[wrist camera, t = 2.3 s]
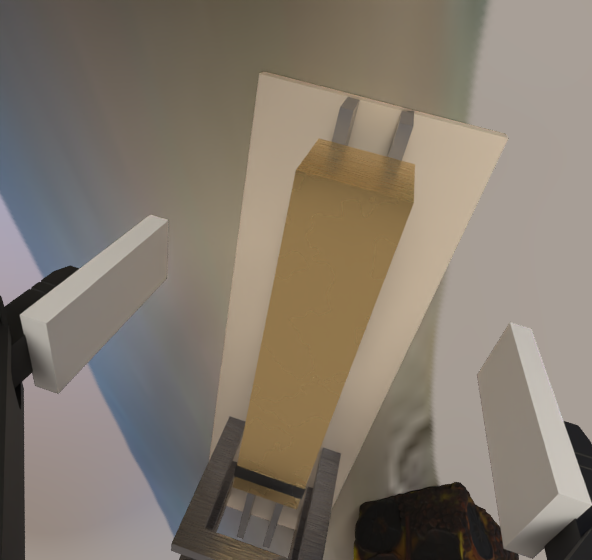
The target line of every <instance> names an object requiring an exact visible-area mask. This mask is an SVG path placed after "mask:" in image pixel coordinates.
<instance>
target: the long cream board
mask: <svg viewBox="0 0 592 560" xmlns="http://www.w3.org/2000/svg"><path fill="white" fill-rule="evenodd" d="M319 138H320V139H323V140H327V141H331V142H334V143H338V144H342V145H346V146H349V147H353V148H357V149H360V150H364V151H368V152H371V153H375V154H379V155H383V156H386V157H390V158H394V159H397V160H401V161H405V162H408V163H412V164H415V182H414V204H413V207H412V209H411V212H410V214H409V217H408V220H407V222H406V225H405V227H404V230H403V233H402V235H401V238H400V241H399V243H398V246H397V248H396V251H395V254H394V256H393V259H392V262H391V264H390V267H389V269H388V272H387V275H386V277H385V280H384V282H383V285H382V288H381V290H380V293H379V296H378V298H377V301H376V303H375V306H374V309H373V311H372V314H371V317H370V319H369V322H368V324H367V327H366V330H365V332H364V335H363V337H362V340H361V343H360V345H359V348H358V351H357V353H356V356H355V358H354V361H353V364H352V366H351V369H350V372H349V374H348V377H347V379H346V382H345V385H344V387H343V390H342V392H341V395H340V398H339V400H338V403H337V406H336V408H335V411H334V413H333V416H332V419H331V421H330V424H329V427H328V429H327V432H326V434H325V437H324V440H323V442H322V445H321V447H320V450H319V453H318V455H317V458H316V461H315V463H314V466H313V468H312V471H311V474H310V476H309V479H308V482H307V485H306V489H305V492H304V495H303V497H302V500H300V502H299V505H298V508H297V510H296V509H293V508H291V507H288V506H285V505H282V504H279V503H276V502H273V501H270V500H268V499H265V498H262V497H259V496H256V495H253V494H250V493H248V492H245V491H242V490H239V489H236V488H233V485H232V490H231V495H230V498H229V500H228V503H227V506H228V507H231V508H234V509H237V510H240V511H243V514H242V518H241V522H240V526H239V531H238V535H237V537H239V538H242V539H243V537H244V534H245V531H246V528H247V525H248V522H249V519H250V516H251V515H254V516H257V517H260V518H262V519H265V520H268V521H270V523H269V526H268V530H267V533H266V537H265V540H264V544H263V546H264V547H267V548H269V546H270V543H271V540H272V537H273V534H274V532H275V529H276V526H277V524H279V525H282V526H285V527H288V528H291V529H294V530H295V526H296V522H297V518H298V515H299V513H300V510H301V508H302V506H303V502H304V497H305V493H306V490H307V488H308V487H311V488H313V486H314V481H315V477H316V472H317V468H318V463H319V459H320V454H321V452H322V449H323V448H326V449H329V450H332V451H335V452H338V453H341V457H340V462H339V468H338V474H337V480H336V485H335V491H334V497H333V503H332V508H333V506H334V504H335V502H336V500H337V498H338V495H339V493H340V491H341V489H342V487H343V485H344V483H345V481H346V479H347V477H348V474H349V472H350V470H351V468H352V466H353V464H354V462H355V460H356V458H357V456H358V453H359V451H360V449H361V447H362V445H363V443H364V441H365V439H366V437H367V435H368V432H369V430H370V428H371V426H372V424H373V422H374V420H375V418H376V416H377V414H378V411H379V409H380V407H381V405H382V403H383V401H384V399H385V397H386V395H387V393H388V390H389V388H390V386H391V384H392V382H393V380H394V378H395V376H396V374H397V372H398V369H399V367H400V365H401V363H402V361H403V359H404V357H405V355H406V353H407V351H408V348H409V346H410V344H411V342H412V340H413V338H414V336H415V334H416V332H417V330H418V327H419V325H420V323H421V321H422V319H423V317H424V315H425V313H426V311H427V309H428V307H429V304H430V302H431V300H432V298H433V296H434V294H435V292H436V290H437V288H438V286H439V283H440V281H441V279H442V277H443V275H444V273H445V271H446V269H447V267H448V265H449V262H450V260H451V258H452V256H453V254H454V252H455V250H456V248H457V246H458V243H459V241H460V239H461V237H462V235H463V233H464V231H465V229H466V227H467V225H468V222H469V220H470V218H471V216H472V214H473V212H474V210H475V208H476V206H477V204H478V202H479V199H480V197H481V195H482V193H483V191H484V189H485V187H486V185H487V183H488V180H489V178H490V176H491V174H492V172H493V170H494V168H495V166H496V164H497V162H498V159H499V157H500V155H501V153H502V151H503V149H504V147H505V145H506V143H507V141H508V137H507V135H506V134H504V133H500V132H497V131H493V130H489V129H485V128H481V127H477V126H473V125H470V124H466V123H462V122H458V121H454V120H450V119H446V118H443V117H439V116H435V115H431V114H427V113H423V112H419V111H416V110H412V109H408V108H404V107H400V106H396V105H392V104H388V103H385V102H381V101H377V100H373V99H369V98H365V97H361V96H358V95H354V94H350V93H346V92H342V91H338V90H334V89H331V88H327V87H323V86H319V85H315V84H311V83H307V82H304V81H300V80H296V79H292V78H288V77H284V76H280V75H277V74H273V73H269V72H265V71H264V72H262V73H259V79H258V87H257V94H256V102H255V110H254V117H253V125H252V133H251V140H250V148H249V156H248V164H247V171H246V179H245V187H244V194H243V202H242V210H241V217H240V225H239V233H238V241H237V248H236V256H235V264H234V271H233V279H232V287H231V294H230V302H229V310H228V318H227V325H226V333H225V341H224V348H223V356H222V364H221V371H220V379H219V387H218V395H217V402H216V410H215V418H214V425H213V433H212V441H211V448H210V456H209V460H210V458H211V456H212V454H213V452H214V449H215V447H216V445H217V443H218V441H219V438H220V436H221V434H222V432H223V430H224V427H225V425H226V423H227V421H228V419H229V416H231V417H234V418H237V419H240V420H242V421H245V422H246V417H247V412H248V407H249V402H250V397H251V392H252V387H253V382H254V377H255V372H256V367H257V362H258V357H259V352H260V347H261V342H262V337H263V332H264V327H265V322H266V317H267V312H268V307H269V302H270V297H271V292H272V287H273V282H274V277H275V272H276V267H277V262H278V257H279V252H280V247H281V242H282V237H283V232H284V227H285V222H286V217H287V212H288V207H289V202H290V196H291V191H292V186H293V181H294V176H295V171H296V169H297V168H298V166H299V165H300V164H301V162H302V161H303V159H304V158H305V157H306V155H307V154H308V153H309V151H310V150H311V148H312V147H313V146H314V144H315V143H316V141H317V140H318V139H319ZM242 437H243V436H242ZM241 442H242V439H241V441H240V444H239V446H238V449H237V451H236V454H235V456H234V459H233V461H235V462H238V457H239V452H240V447H241ZM234 478H235V476H234ZM233 483H234V479H233ZM332 508H331V510H332Z"/></svg>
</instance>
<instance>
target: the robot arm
mask: <svg viewBox="0 0 592 560" xmlns="http://www.w3.org/2000/svg"><path fill="white" fill-rule="evenodd" d="M168 229H169V220H167V219H164V218H160V217H157V216H154V215H149V216H148V217H146V218H145V219H144V220H143V221H141V222H140V223H139V224H137V225H136V226H135V227H133V228H132V229H131V230H129V231H128V232H127V233H126V234H124V235H123V236H122V237H120V238H119V239H118V240H116V241H115V242H114V243H113V244H111V245H110V246H109V247H107V248H106V249H105V250H103V251H102V252H101V253H99V254H98V255H97V256H96V257H94V258H93V259H92V260H90V261H89V262H88V263H86V264H85V265H84V266H83V267H81V268H80V269H79V268H76V267H73V266H67V267H64V268H62V269H59V270H56V271H54V272H52V273H51V274H49V275H48V276H47V277H45V278H44V279H42V280H41V282H38V283H37V284H35V285H34V286H33V287H32V288H31V290H30V289H29V290H27V291H26V292H24V293H23V294H22V295H20V296H19V297H17V298H16V299H15V300H13V301H12V302H10V303H9V304H8V305H6V306H5V307H4V304H3V301H2V298H1V296H0V560H25V515H24V514H25V512H24V508H25V507H24V388H23V384H22V381H23V380H24V379H25V378H26V377H28V376H29V375H30V374H31V373H32V374H33V379H34V383H35V386H37V387H40V388H43V389H46V390H49V391H51V392H54V393H57V394H59V393H60V392H61V391H62V390H63V389H64V387H65V386H66V385H67V384H68V383H69V382H70V381H71V380H72V379H73V378H74V377H75V376H76V375H77V374H78V372H79V371H80V370H81V369H82V368H83V367H84V366H85V365H86V364H87V363H88V362H89V361H90V360H91V359H92V358H93V356H94V355H95V354H96V353H97V352H98V351H99V350H100V349H101V348H102V347H103V346H104V345H105V344H106V343H107V342H108V340H109V339H110V338H111V337H112V336H113V335H114V334H115V333H116V332H117V331H118V330H119V329H120V328H121V327H122V326H123V324H124V323H125V322H126V321H127V320H128V319H129V318H130V317H131V316H132V315H133V314H134V313H135V312H136V311H137V310H138V308H139V307H140V306H141V305H142V304H143V303H144V302H145V301H146V300H147V299H148V298H149V297H150V296H151V295H152V294H153V292H154V291H155V290H156V289H157V288H158V287H159V286H160V285H161V284H162V283H163V282H164V281H165V280H166V279H167V261H168ZM477 378H478V385H479V390H480V398H481V404H482V411H483V417H484V424H485V430H486V437H487V443H488V450H489V455H490V463H491V469H492V476H493V482H494V489H495V495H496V502H497V507H498V515H499V521H500V528H501V534H502V541H503V547H504V549H506V550H509V551H512V552H515V553H518V554H520V555H523V556H526V557H529V558H532V559H533V558H534V557H535V556H536V555H537V554H538V553H539V552H541V550H543V549H544V548H545V552H546V557H547V560H592V444H591V442H590V440H589V439H588V438H587V436H586V435H585V434H584V432H583V431H582V430H581V429H580V427H579V426H578V425H575V424H572V423H569V422H565V421H563V419H562V416H561V413H560V410H559V407H558V404H557V401H556V398H555V395H554V393H553V390H552V387H551V384H550V381H549V378H548V375H547V372H546V369H545V367H544V364H543V361H542V358H541V355H540V352H539V349H538V346H537V343H536V340H535V338H534V335H533V332H532V329H531V328H528V327H524V326H521V325H517V324H514V323H511V322H510V323H509V324H508V326H507V328H506V329H505V331H504V332H503V334H502V336H501V337H500V339H499V341H498V342H497V344H496V345H495V347H494V349H493V350H492V352H491V353H490V355H489V357H488V358H487V360H486V362H485V363H484V365H483V366H482V368H481V369H480V371H479V373H478V374H477Z"/></svg>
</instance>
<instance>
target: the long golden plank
mask: <svg viewBox="0 0 592 560" xmlns="http://www.w3.org/2000/svg"><path fill="white" fill-rule="evenodd" d="M414 182H415V164H412V163H408V162H405V161H401V160H397V159H394V158H390V157H386V156H383V155H379V154H375V153H371V152H368V151H364V150H360V149H357V148H353V147H349V146H346V145H342V144H338V143H334V142H331V141H327V140H323V139H320V138H319V139H318V140H317V141H316V143H315V144H314V146H313V147H312V148H311V150H310V151H309V153H308V154H307V155H306V157H305V158H304V159H303V161H302V162H301V164H300V165H299V166H298V168H297V169H296V171H295V176H294V181H293V186H292V191H291V196H290V202H289V207H288V212H287V217H286V222H285V227H284V232H283V237H282V242H281V247H280V252H279V257H278V262H277V267H276V272H275V277H274V282H273V287H272V292H271V297H270V302H269V307H268V312H267V317H266V322H265V327H264V332H263V337H262V342H261V347H260V352H259V357H258V362H257V367H256V372H255V377H254V382H253V387H252V392H251V397H250V402H249V407H248V412H247V417H246V422H245V427H244V432H243V437H242V442H241V447H240V452H239V457H238V462H237V464H236V468H235V473H234V476H235V478H234V483H233V488H236V489H239V490H242V491H245V492H248V493H250V494H253V495H256V496H259V497H262V498H265V499H268V500H270V501H273V502H276V503H279V504H282V505H285V506H288V507H291V508H293V509H296V510H297V508H298V505H299V502H300V500H302V497H303V495H304V492H305V489H306V485H307V482H308V479H309V476H310V474H311V471H312V468H313V466H314V463H315V461H316V458H317V455H318V453H319V450H320V447H321V445H322V442H323V440H324V437H325V434H326V432H327V429H328V427H329V424H330V421H331V419H332V416H333V413H334V411H335V408H336V406H337V403H338V400H339V398H340V395H341V392H342V390H343V387H344V385H345V382H346V379H347V377H348V374H349V372H350V369H351V366H352V364H353V361H354V358H355V356H356V353H357V351H358V348H359V345H360V343H361V340H362V337H363V335H364V332H365V330H366V327H367V324H368V322H369V319H370V317H371V314H372V311H373V309H374V306H375V303H376V301H377V298H378V296H379V293H380V290H381V288H382V285H383V282H384V280H385V277H386V275H387V272H388V269H389V267H390V264H391V262H392V259H393V256H394V254H395V251H396V248H397V246H398V243H399V241H400V238H401V235H402V233H403V230H404V227H405V225H406V222H407V220H408V217H409V214H410V212H411V209H412V207H413V204H414Z"/></svg>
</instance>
